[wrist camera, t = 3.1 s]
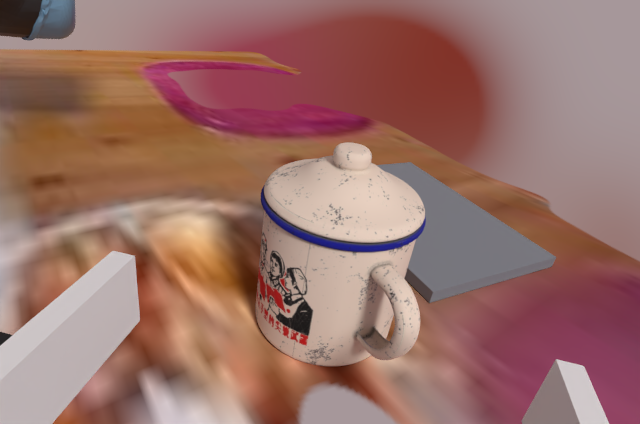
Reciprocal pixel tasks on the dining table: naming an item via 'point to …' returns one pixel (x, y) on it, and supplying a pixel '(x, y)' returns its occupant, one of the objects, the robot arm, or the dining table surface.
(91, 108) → the dining table surface
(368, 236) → the teacup with lid
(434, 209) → the serving board
